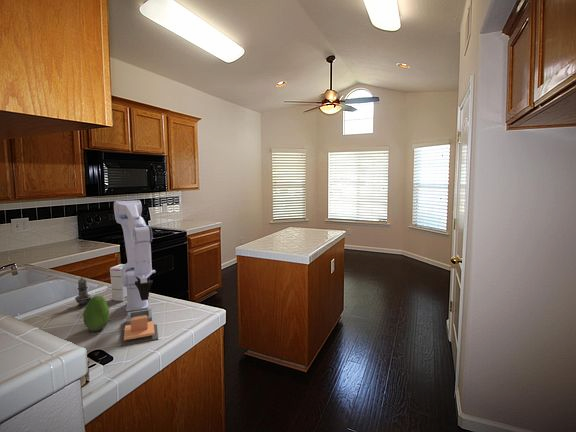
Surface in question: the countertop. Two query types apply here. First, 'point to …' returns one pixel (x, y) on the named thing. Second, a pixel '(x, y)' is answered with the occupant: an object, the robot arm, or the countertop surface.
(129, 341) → the mat
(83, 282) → the candlestick holder
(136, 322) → the lid
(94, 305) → the avocado
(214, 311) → the countertop surface
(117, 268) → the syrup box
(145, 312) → the box
